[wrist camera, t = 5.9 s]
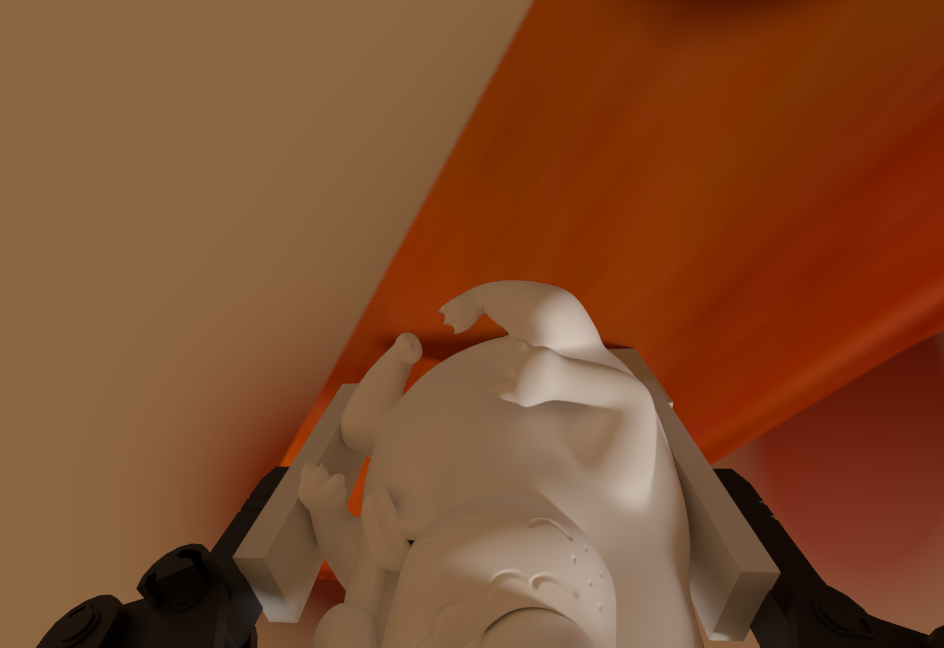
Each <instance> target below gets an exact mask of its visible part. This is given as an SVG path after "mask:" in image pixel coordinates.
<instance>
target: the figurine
mask: <svg viewBox="0 0 944 648" xmlns="http://www.w3.org/2000/svg"><path fill="white" fill-rule="evenodd" d="M438 313H443V314H444V315H445V321H444V323H443V325H445V324H450V325H451V326H452V327H454V328H455V332H454V334H457V333H461V332H463V331H465V330H467V329H469V328H470V327H471V326H472V325H473V324H474V323H475V322H476V320H477V319H478V317H479V316H481V315H482V314H484V313H486V314H487V315H488V316H489V317H490V318H491V319H492V320H493V321H495V322H496V323H497V324H499V325H500V326H501V327H503V328H504V329H505V330H506V331H507V332H508V333H509V335H507V336H504V337H500V338H496V339H492V340H489V341H486V342H483V343H480V344H477V345H474V346H472V347H469V348H467V349H465V350H463V351H460V352H458V353H456V354H454V355H453V356H451V357H449V358H447V359H446V360H444V361H442V362H441V363H439V364H438V365H436V366H435V367H434V368H432V369H431V370H430V371H428V372H427V373H426V374H425V375H424V376H422V377H421V378H420V379H419V380H418V381H417V382H416V383H415V384H414V385H413V386H412V387H411V388H410V389H409V390H408V392H407V393H406V394H404V393H403V389H404V386H405V384H406V381H407V379H408V376H409V374H410V371H411V368H412V366H413V363H415V362H417V361H418V360H419V359H420V358H421V356H422V346H421V343H420V341H419V339H418V338H417V337H416V336H415V335H414V334H412V333H403V334H401V335H400V336H399V337H398V338H397V339H396V341H395V344H394V345H393V346H392V347H391V348H390V349H389V350H388V351H387V352H386V353H385V354H384V355H383V356H382V357H381V358H380V359H379V360H378V361H377V362H376V363H375V364H374V365H373V366H372V367H371V369H370V370H369V371H368V372H367V374H366V375H365V376H364V378H363V379H362V381H361V382H360V383H359V385H358V386H357V388H356V389H355V391H354V393H353V394H352V396H351V398H350V399H349V401H348V403H347V405H346V407H345V409H344V412H343V414H342V418H341V425H340V434H341V438H342V440H343V442H344V443H345V444H346V445H347V446H348V447H349V448H350V449H352V450H353V451H355V452H357V453H359V454H361V455H364V456H367V457H370V458H371V460H370V464H369V468H368V472H367V476H366V481H365V486H364V492H363V499H362V507H361V516H360V517H355V516H353V515H351V514H350V512H349V511H348V509H347V505H346V501H345V499H346V490H345V488H344V484H345V478H344V476H343V475H342V474H341V473H340V474H335V475H333V476H330V475H328V470H327V469H326V468H325V467H324V465H323V463H320V466H319V467H317V466H316V465H315V464H313V463H311V464H309V463H307V462H306V461H304V463H303V466H304V467H303V469H302V471H301V476H300V485H299V487H298V496H299V499H300V500H301V502H302V503H303V505H304V506H305V507H306V508H307V509H308V510H309V512H310V516H311V520H312V525H313V530H314V534H315V537H316V540H317V543H318V545H319V548H320V550H321V552H322V554H323V556H324V557H325V559H326V561H327V563H328V564H329V566H330V567H331V569H332V571H333V572H334V574H335V575H336V577H337V579H338V580H339V582H340V583H341V585H342V586H343V588H344V589H345V590H346V595H345V600H344V603H342V604H338V605H336V606H334V607H333V608H331V609H330V610H329V611H328V612H327V613H326V614H325V615H324V616H323V617H322V619H321V620H320V622H319V624H318V626H317V628H316V631H315V634H314V637H313V641H312V647H311V648H704V645H703V641H702V637H701V634H700V630H699V627H698V623H697V619H696V616H695V613H694V608H693V604H692V599H691V594H690V585H689V570H690V533H689V523H688V516H687V510H686V505H685V500H684V496H683V492H682V488H681V484H680V481H679V477H678V474H677V470H676V467H675V463H674V460H673V457H672V453H671V450H670V447H669V444H668V441H667V438H666V435H665V432H664V430H663V427H662V424H661V422H660V419H659V417H658V415H657V412H656V410H655V407H654V403H653V399H652V397H651V395H650V393H649V391H648V389H647V388H646V387H645V386H644V384H643V383H642V382H640V381H639V380H638V379H637V378H636V377H635V376H634V375H633V373H632V372H631V371H630V370H629V369H628V368H627V367H626V366H625V365H624V364H623V363H622V362H621V361H620V360H619V359H618V358H617V357H616V356H614V355H613V354H612V353H611V352H610V351H608V350H607V349H606V348H605V346H604V345H603V343H602V341H601V339H600V336H599V334H598V331H597V329H596V328H595V326H594V324H593V322H592V320H591V319H590V317H589V315H588V314H587V312H586V310H585V309H584V308H583V306H582V305H581V303H580V302H579V301H578V300H577V299H576V298H575V297H574V296H573V295H572V294H571V293H569V292H568V291H566V290H564V289H562V288H559V287H556V286H553V285H549V284H544V283H538V282H530V281H515V280H509V281H497V282H492V283H487V284H483V285H480V286H477V287H475V288H473V289H470V290H468V291H466V292H464V293H463V294H461V295H459V296H458V297H456V298H454V299H452V300H451V301H449V302H448V303H447V304H445V305H443V306H442V307H441V309H440V311H439V312H438Z"/></svg>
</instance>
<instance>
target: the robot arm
mask: <svg viewBox="0 0 944 648" xmlns="http://www.w3.org/2000/svg"><path fill="white" fill-rule="evenodd" d="M639 381H640V382H642V383H643V384H644V386H645V387H646V388H647V389H648V391H649V393H650V395H651V397H652V399H653V403H654V407H655V410H656V412H657V415H658V417H659V419H660V422H661V424H662V427H663V430H664V432H665V435H666V438H667V441H668V444H669V447H670V450H671V453H672V457H673V460H674V463H675V467H676V470H677V474H678V477H679V481H680V484H681V488H682V492H683V496H684V500H685V505H686V510H687V516H688V523H689V533H690V570H689V585H690V594H691V599H692V601H693V603H694V606H695V608H696V610H697V612H698V615H699V617H700V620H701V622H702V624H703V626H704V629H705V631H706V633H707V636H708V638H709V640H721V641H722V640H723V641H744V639H745V637H746V636H747V634H748V632H749V630H750V628H751V630H752V632H753V634H754V636H755V638H756V639H757V642H758V643H759V645H760V648H944V625H943V626H941V627H939V628H936V629H935V630H934V631H933V632H932V633H931V634H930V635H927V634H923V633H920V632H917V631H914V630H911V629H908V628H905V627H902V626H899V625H896V624H893V623H890V622H887V621H884V620H881V619H878V618H876V617H873V616H871V615H868V614H867V613H866V612H865V610H864V609H863V608H862V607H860V606H859V605H858V604H857V603H856V602H854V601H853V600H852V599H851V598H849V597H848V596H847V595H845V594H843V593H841V592H839V591H837V590H836V589H834V588H832V587H830V586H827V585H826V583H825V582H824V581H823V580H822V579H821V578H820V576H819V575H818V574H817V572H816V571H815V570H814V568H813V567H812V566H811V564H810V563H809V562H808V560H807V559H806V558H805V556H804V555H803V554H802V552H801V551H800V550H799V548H798V547H797V546H796V544H795V543H794V542H793V540H792V539H791V538H790V536H789V535H788V534H787V532H786V531H785V530H784V528H783V527H782V526H781V524H780V523H779V521H778V520H775V518H774V515H773V513H772V512H771V511H770V509H769V508H768V507H767V505H764V503H763V500H762V499H761V497H760V496H759V495H758V493H757V492H756V491H755V489H754V488H753V487H752V485H751V484H750V483H749V482H748V481H746V480H745V479H744V478H743V477H741V476H740V475H739V474H738V473H736V472H735V471H734V470H733V469H712V468H711V466H710V465H709V463H708V462H707V460H706V459H705V457H704V456H703V454H702V453H701V451H700V450H699V448H698V447H697V445H696V444H695V442H694V441H693V439H692V438H691V436H690V435H689V433H688V432H687V430H686V429H685V427H684V426H683V424H682V423H681V421H680V420H679V418H678V417H677V415H676V413H675V412H674V410H673V409H672V407H671V406H670V404H669V403H668V401H667V400H666V398H665V397H664V395H663V394H662V392H661V391H660V389H659V388H658V386H657V385H656V383H655V382H654V380H639ZM358 385H359V384H342V386H341V387H340V389H339V390H338V392H337V394H336V395H335V397H334V398H333V400H332V401H331V403H330V405H329V406H328V408H327V409H326V411H325V412H324V414H323V416H322V417H321V419H320V420H319V422H318V423H317V425H316V427H315V428H314V430H313V431H312V433H311V434H310V436H309V438H308V439H307V441H306V442H305V444H304V445H303V447H302V449H301V450H300V452H299V453H298V455H297V456H296V458H295V460H294V461H293V463H292V464H291V466H290V467H275V468H274V469H273V470H272V471H271V472H270V473H268V474H267V475H266V476H265V477H264V478H263V479H262V480H261V481H260V482H259V484H258V485H257V486H256V488H255V489H254V491H253V492H252V494H251V495H250V498H249V499H247V501H246V502H245V503H244V505H243V506H242V508H241V511H240V512H238V513H237V515H236V516H235V518H234V519H233V521H232V522H231V523H230V525H229V526H228V528H227V529H226V531H225V532H224V534H223V535H222V536H221V538H220V539H219V541H218V542H217V544H216V545H215V547H214V548H213V549H212V551H211V552H209V551H208V549H207V548H205V547H204V546H203V545H202V544H188V545H185V546H181V547H178V548H177V549H175V550H173V551H171V552H169V553H167V554H166V555H164V556H163V557H162V558H160V559H159V560H158V561H157V562H156V563H154V564H153V565H152V566H151V567H150V569H149V570H148V571H147V572H146V573H145V574H144V575H143V577H142V579H141V581H140V583H139V584H138V586H137V590H138V591H139V593H140V594H141V595H142V596H143V597H144V599H141V600H137V601H134V602H130V603H127V604H124V605H123V604H122V603H121V602H120V601H119V600H118V599H117V598H116V597H114V596H112V595H99V596H97V597H94V598H92V599H89V600H87V601H85V602H83V603H81V604H80V605H78V606H77V607H75V608H73V609H72V610H70V611H69V612H68V613H67V614H65V615H64V616H63V617H62V618H61V619H60V620H58V621H57V622H56V623H55V624H54V625H53V626H52V628H51V629H50V630H49V631H48V632H47V634H46V635H45V636H44V637H43V639H42V640H41V641H40V643H39V644H38V646H37V647H36V648H257V637H258V636H257V631H256V627H255V624H256V621H257V620H258V618H259V615H260V614H261V612H262V610H263V611H264V613H265V615H266V617H267V618H268V620H269V622H292V623H295V622H296V623H297V622H298V620H299V618H300V615H301V613H302V610H303V608H304V606H305V603H306V600H307V598H308V596H309V594H310V591H311V588H312V586H313V584H314V581H315V579H316V577H317V574H318V572H319V569H320V567H321V565H322V562H323V560H324V556H323V554H322V552H321V550H320V548H319V545H318V543H317V540H316V537H315V534H314V530H313V525H312V520H311V516H310V512H309V510H308V509H307V508H306V507H305V506H304V505H303V503H302V502H301V500H300V499H299V496H298V487H299V485H300V476H301V471H302V469H303V467H304V466H303V463H304V461H306V462H307V463H309V464H311V463H313V464H315V465H316V466H317V467H319V466H320V463H323V465H324V467H325V468H326V469H327V470H328V475H330V476H333V475H335V474H340V473H341V474H342V475H343V476H344V478H345V484H344V488H345V490H346V499H345V501H346V504H347V502H348V499H349V497H350V494H351V492H352V490H353V487H354V485H355V482H356V480H357V478H358V475H359V473H360V470H361V468H362V465H363V463H364V461H365V458H366V456H364V455H361V454H359V453H357V452H355V451H353V450H352V449H350V448H349V447H348V446H347V445H346V444H345V443H344V442H343V440H342V438H341V434H340V425H341V418H342V414H343V412H344V409H345V407H346V405H347V403H348V401H349V399H350V398H351V396H352V394H353V393H354V391H355V389H356V388H357V386H358Z"/></svg>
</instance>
